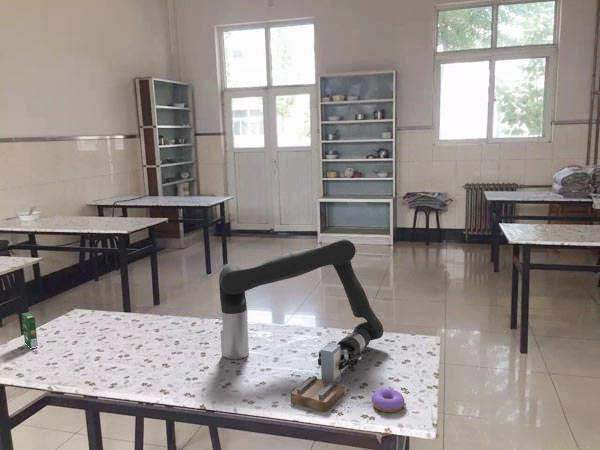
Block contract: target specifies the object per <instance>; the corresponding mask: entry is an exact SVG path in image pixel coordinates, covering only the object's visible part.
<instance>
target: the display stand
mask: <svg viewBox="0 0 600 450" xmlns="http://www.w3.org/2000/svg"><path fill="white" fill-rule="evenodd" d="M344 395H345V384H342V383H339V382H338V383H337V381H333V382H330V381H326V380H322V379H321V378H317V375H316V376H315V375H312V376H309V377H308V378H306V379H305V381H303V382H302V383H301V384H300V385H298V386H297V387H296V388H295V389H294V390H292V391H291V392H290V403H292V404H295V405H300V406H303V407H306V408H310V409H313V410H318V411H321V412H325V413H327V412H328V411H329V410H330V409H331V408H332V407H333V406H334V405H335V404H336V403H337V402H338V401H339V400H340V399H341V398H342V397H343V396H344Z"/></svg>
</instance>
